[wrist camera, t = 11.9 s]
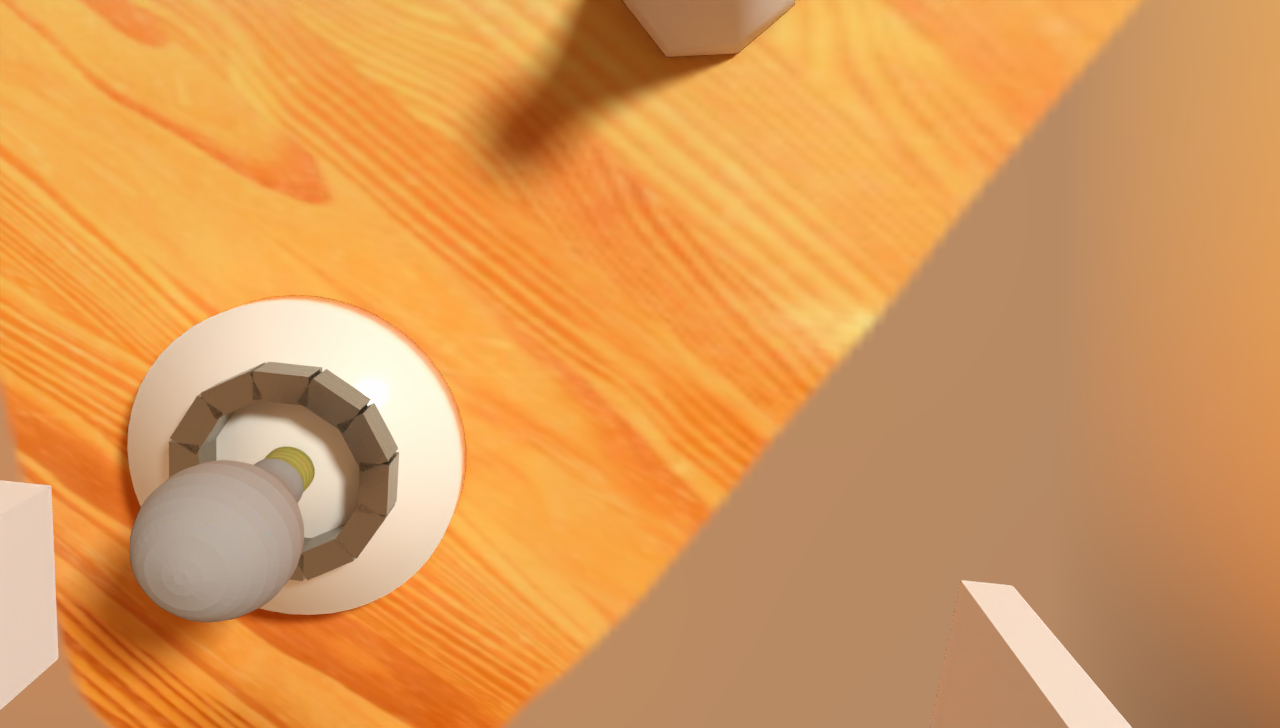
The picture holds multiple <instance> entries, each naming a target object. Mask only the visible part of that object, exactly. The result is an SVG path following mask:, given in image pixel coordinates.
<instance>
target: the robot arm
mask: <svg viewBox="0 0 1280 728" xmlns="http://www.w3.org/2000/svg"><path fill="white" fill-rule="evenodd" d="M57 659H58V637H57V613H56V589H55V565H54V541H53V518H52V494H51V486H49V485H40V484H30V483H21V482H11V481H1V480H0V710H1V709H2V708H3V707H4V706H5V705H6V704H7V703H9V702H10V701H11V700H12V699H13V698H14V697H15V696H17V695H18V694H19V693H20V692H21V691H22V690H23V689H24V688H26V687H27V686H28V685H29V684H30V683H31V682H32V681H33V680H35V679H36V678H37V677H38V676H39V675H40V674H41V673H43V672H44V671H45V670H46V669H47V668H48V667H49V666H50V665H52V664H53V663H54V662H55V661H56V660H57ZM930 728H1132V727H1131V726H1130V725H1129V724H1128V723H1127V721H1126V720H1125V719H1124V718H1123V716H1122V715H1121V714H1120V713H1119V712H1118V711H1117V710H1116V708H1115V707H1114V706H1113V705H1112V703H1111V702H1110V701H1109V700H1108V699H1107V697H1106V696H1105V695H1104V694H1103V693H1102V692H1101V690H1100V689H1099V688H1098V687H1097V686H1096V684H1095V683H1094V682H1093V681H1092V680H1091V678H1090V677H1089V676H1088V675H1087V674H1086V672H1085V671H1084V670H1083V669H1082V668H1081V667H1080V666H1079V664H1078V663H1077V662H1076V661H1075V659H1074V658H1073V657H1072V656H1071V655H1070V653H1069V652H1068V651H1067V650H1066V649H1065V647H1064V646H1063V645H1062V644H1061V643H1060V642H1059V640H1058V639H1057V638H1056V637H1055V636H1054V634H1052V632H1051V631H1050V630H1049V629H1048V628H1047V626H1046V625H1045V624H1044V622H1043V621H1042V620H1041V619H1040V618H1039V617H1038V615H1037V614H1036V613H1035V612H1034V611H1033V609H1032V608H1031V607H1030V606H1029V605H1028V603H1027V602H1026V601H1025V600H1024V599H1023V597H1022V596H1021V595H1020V594H1019V593H1018V592H1017V590H1016V589H1015V588H1014V587H1013V586H1011V585H1002V584H992V583H982V582H973V581H963V580H961V582H960V587H959V591H958V596H957V601H956V605H955V610H954V615H953V620H952V624H951V629H950V634H949V638H948V643H947V648H946V653H945V657H944V662H943V667H942V671H941V676H940V681H939V686H938V691H937V695H936V700H935V704H934V709H933V714H932V719H931V724H930Z"/></svg>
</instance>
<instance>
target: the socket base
mask: <svg viewBox="0 0 1280 728" xmlns="http://www.w3.org/2000/svg"><path fill="white" fill-rule="evenodd" d="M264 362H265V363H267V362H278V363H287V364H296V365H305V366H315V367H322V372H323V371H324V370H326V369H327V370H329V371H330V372H332V373H333V374H335V375H336V376H338V377H339V378H341V379H342V380H344V381H345V382H347V383H348V384H350V385H351V386H353V387H354V388H356V389H357V390H358V391H360V392H361V393H363V394H364V395H366V396H367V397H369V398H370V399H371V401H370V402H369V403H368V405H370V404H372V403H375V405H376V407H377V409H378V410H379V412H380V414H381V416H382V418H383V420H384V422H385V424H386V426H387V428H388V429H389V431H390V433H391V435H392V437H393V439H394V441H395V443H396V445H397V447H398V449H397V451H396V452H399V467H398V486H397V501H396V502H395V506H394V507H393V509H392V510H391V511H390V513H389V514H388V516H387V517H386V519H385V520H384V522H383V523H382V524H381V526H380V527H379V529H378V530H377V531H376V533H375V534H374V536H373V537H372V538H371V540H370V541H369V542H368V544H367V545H366V547H365V548H364V549H363V551H362V552H361V554H360V555H359V556H358V558H357V559H356V558H355V560H354V561H353V562H350V563H348V564H346V565H343V566H341V567H338V568H336V569H334V570H331V571H329V572H326V573H324V574H322V575H319V576H317V577H314V578H312V579H310V580H307V579H306V578H305V579H304V580H303V581H297V580H289V581H288V582H287V583H286V584H285V585H284V587H283V588H282V589H281V590H280V591H279V593H278V594H277V595H276V596H275V597H274V598H273V599H272V600H270V601H269V602H268V603H267V604H265V605H264V606H262V607H260V608H261V609H264V610H268V611H273V612H280V613H286V614H299V615H317V614H330V613H335V612H340V611H345V610H350V609H353V608H356V607H359V606H362V605H365V604H368V603H371V602H373V601H375V600H377V599H379V598H381V597H383V596H385V595H387V594H389V593H390V592H392V591H393V590H395V589H396V588H398V587H399V586H401V585H402V584H404V583H405V582H406V581H407V580H408V579H409V578H411V577H412V576H413V575H414V574H415V573H416V572H417V571H418V570H419V569H420V568H421V567H422V566H423V565H424V563H425V562H426V561H427V560H428V559H429V558H430V556H431V555H432V553H433V552H434V550H435V549H436V547H437V546H438V544H439V542H440V541H441V539H442V537H443V535H444V533H445V531H446V529H447V527H448V525H449V523H450V521H451V519H452V517H453V515H454V513H455V510H456V508H457V506H458V504H459V500H460V497H461V493H462V490H463V487H464V480H465V473H466V440H465V433H464V427H463V423H462V420H461V416H460V412H459V409H458V406H457V404H456V402H455V399H454V397H453V394H452V392H451V390H450V388H449V386H448V385H447V383H446V381H445V379H444V378H443V376H442V374H441V373H440V371H439V370H438V369H437V367H436V366H435V365H434V363H433V362H432V361H431V359H430V358H429V357H428V356H427V354H426V353H425V352H424V351H423V350H422V349H421V348H420V347H419V346H418V345H417V344H416V343H415V342H414V341H413V340H412V339H410V338H409V337H408V336H407V335H405V334H404V333H403V332H402V331H400V330H399V329H398V328H396V327H395V326H394V325H392V324H390V323H389V322H387V321H385V320H384V319H382V318H380V317H379V316H377V315H375V314H373V313H371V312H368V311H366V310H364V309H362V308H359V307H357V306H354V305H351V304H348V303H345V302H341V301H338V300H334V299H328V298H323V297H317V296H303V295H287V296H276V297H269V298H264V299H260V300H255V301H251V302H248V303H246V304H243V305H240V306H237V307H235V308H232V309H230V310H227V311H225V312H222V313H220V314H217V315H215V316H212V317H210V318H208V319H206V320H204V321H203V322H201V323H199V324H197V325H195V326H193V327H192V328H190V329H189V330H188V331H186V332H185V333H184V334H182V335H181V336H179V337H178V338H177V339H175V340H174V341H173V342H172V343H171V344H170V345H169V346H168V347H167V348H166V349H165V350H164V351H163V352H162V353H161V354H160V356H159V357H158V359H157V360H156V361H155V363H154V364H153V365H152V367H151V368H150V369H149V371H148V373H147V374H146V376H145V378H144V380H143V382H142V384H141V386H140V388H139V390H138V393H137V396H136V399H135V401H134V404H133V407H132V412H131V417H130V422H129V427H128V445H127V450H128V461H129V470H130V474H131V479H132V483H133V487H134V491H135V493H136V496H137V499H138V501H139V504H140V507H141V506H142V505H143V503H144V501H145V500H146V499H147V497H148V496H149V495H150V494H151V493H152V492H153V491H154V490H155V489H157V488H158V487H159V486H160V485H161V484H162V483H164V482H165V481H166V480H167V479H168V478H169V441H171V440H172V439H171V438H170V437H171V435H172V434H173V432H174V431H175V429H176V428H177V426H178V425H179V423H180V422H181V420H182V418H183V417H184V415H185V414H186V412H187V411H188V409H189V408H190V406H191V404H192V403H193V401H194V400H195V398H196V397H197V396H198V395H199V394H201V392H203V391H205V390H207V389H208V388H210V387H212V386H214V385H215V384H217V383H219V382H221V381H224V380H226V379H228V378H230V377H233V376H235V375H237V374H239V373H242V372H244V371H246V370H248V369H251V368H253V367H255V366H257V365H260V364H262V363H264ZM284 446H286V447H294V448H297V449H300V450H302V451H303V452H305V453H306V454H307V455H308V456H309V457H310V459H311V460H312V462H313V465H314V469H315V475H314V479H313V481H312V482H311V484H310V485H309V487H308V488H307V489H306V490H305V491H304V492H303V494H302V497H301V499H300V501H299V502H298V506H299V509H300V512H301V515H302V519H303V524H304V537H305V538H313V537H316V536H318V535H320V534H323V533H325V532H328V531H330V530H332V529H335V528H337V527H339V526H342V525H344V524H346V523H347V521H348V520H349V519H350V517H351V516H352V514H353V513H354V512H355V510H356V509H357V507H358V487H359V466H358V464H357V462H356V460H355V458H354V457H353V455H352V453H351V451H350V449H349V447H348V445H347V444H346V442H345V440H344V438H343V436H342V434H341V432H340V431H339V429H337V428H336V427H334V426H333V425H331V424H330V423H328V422H327V421H325V420H324V419H322V418H321V417H319V416H318V415H316V414H315V413H313V412H312V411H310V410H309V409H307V408H306V407H304V406H303V405H296V404H286V403H277V402H268V401H256V402H254V403H252V404H249V405H247V406H245V407H243V408H240V409H238V410H236V411H234V412H233V414H232V415H231V417H230V418H229V420H228V421H227V423H226V424H225V426H224V427H223V429H222V430H221V432H220V433H219V435H218V436H217V438H216V461H218V460H230V461H238V462H243V463H248V464H252V465H254V464H256V463H257V462H259V461H261V460H263V459H265V458H266V456H267V455H268V454H269V453H270V452H271V451H273V450H274V449H276V448H279V447H284Z"/></svg>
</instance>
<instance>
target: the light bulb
mask: <svg viewBox="0 0 1280 728" xmlns="http://www.w3.org/2000/svg"><path fill="white" fill-rule="evenodd" d="M314 475H315V469H314V465H313V462H312V460H311V459H310V457H309V456H308V455H307V454H306V453H305V452H303V451H302V450H300V449H297V448H294V447H286V446H284V447H279V448H276V449H274V450H273V451H271V452H270V453H269V454H268V455H267V456H266V458H265V459H263V460H261V461H259V462H257V463H256V464H254V465H252V464H248V463H243V462H238V461H230V460H218V461H210V462H205V463H202V464H199V465H196V466H192V467H189V468H186V469H184V470H182V471H180V472H178V473H176V474H174V475H173V476H171V477H170V478H168V479H167V480H166V481H165V482H164V483H162V484H161V485H160V486H159V487H158V488H157V489H155V490H154V491H153V492H152V493H151V494H150V495H149V496H148V497H147V499H146V500H145V501H144V503H143V505H142V506H141V508H140V510H139V512H138V515H137V517H136V520H135V522H134V524H133V527H132V531H131V536H130V550H129V553H130V563H131V567H132V570H133V573H134V576H135V578H136V580H137V582H138V583H139V585H140V587H141V588H142V589H143V591H144V592H145V593H146V595H147V596H148V597H149V598H150V599H151V600H152V601H153V602H154V603H156V604H157V605H158V606H159V607H161V608H162V609H164V610H166V611H168V612H169V613H171V614H173V615H176V616H178V617H181V618H184V619H187V620H191V621H197V622H218V621H225V620H230V619H234V618H238V617H241V616H243V615H246V614H248V613H250V612H252V611H254V610H256V609H258V608H260V607H262V606H264V605H265V604H267V603H268V602H269V601H270V600H272V599H273V598H274V597H275V596H276V595H277V594H278V593H279V591H280V590H281V589H282V588H283V587H284V585H285V584H286V583H287V582H288V581H289V579H290V578H291V576H292V575H293V573H294V571H295V569H296V567H297V564H298V562H299V558H300V555H301V552H302V548H303V543H304V524H303V519H302V515H301V512H300V509H299V506H298V502H299V501H300V499H301V497H302V494H303V492H304V491H305V490H306V489H307V488H308V487H309V485H310V484H311V482H312V481H313V479H314Z"/></svg>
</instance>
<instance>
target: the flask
mask: <svg viewBox="0 0 1280 728" xmlns="http://www.w3.org/2000/svg"><path fill="white" fill-rule="evenodd" d="M622 1H623V2H624V3H625V5H626V6H627V7H628V8H629V10H630V11H631V12H632V13H633V15H634V16H635V17H636V19H637V20H638V21H639V22H640V24H641V25H642V26H643V28H644V29H645V30H646V31H647V33H648V34H649V35H650V36H651V38H652V39H653V40H654V42H655V43H656V44H657V45H658V47H659V48H660V49H661V51H662V52H663V53H664V54H665V56H666V57H675V56H695V55H714V54H734V53H739V52H740V51H741V50H742V49H743V48H745V47H746V46H747V45H748V44H749V43H751V42H752V41H753V40H754V39H755V38H756V37H758V36H759V35H760V34H761V33H762V32H763V31H765V30H766V29H767V28H768V27H769V26H770V25H772V24H773V23H774V22H775V21H776V20H777V19H779V18H780V17H781V16H782V15H783V14H784V13H786V12H787V11H788V10H789V9H790V8H791V7H793V6H794V5H795V0H622Z"/></svg>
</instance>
